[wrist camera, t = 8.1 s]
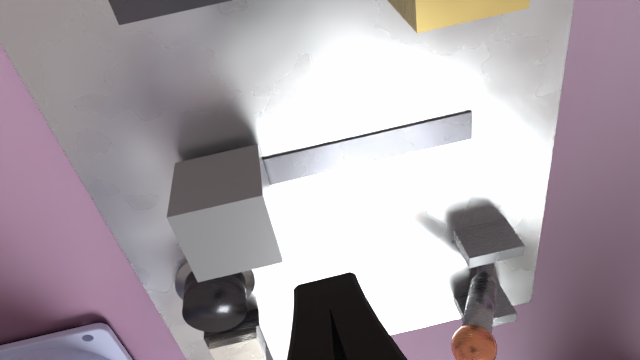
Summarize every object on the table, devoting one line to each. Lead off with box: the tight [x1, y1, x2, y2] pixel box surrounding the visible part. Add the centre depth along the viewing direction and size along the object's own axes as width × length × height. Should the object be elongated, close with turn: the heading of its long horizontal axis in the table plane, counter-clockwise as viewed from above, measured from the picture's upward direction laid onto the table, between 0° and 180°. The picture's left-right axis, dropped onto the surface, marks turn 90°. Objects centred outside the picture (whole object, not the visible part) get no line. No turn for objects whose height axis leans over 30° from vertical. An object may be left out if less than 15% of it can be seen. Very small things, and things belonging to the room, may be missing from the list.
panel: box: [0, 0, 574, 360], centre depth 19 cm, size 18×22×3 cm
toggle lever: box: [451, 263, 497, 360], centre depth 21 cm, size 2×3×5 cm, turn 10°
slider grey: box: [167, 144, 284, 282], centre depth 17 cm, size 3×3×3 cm
